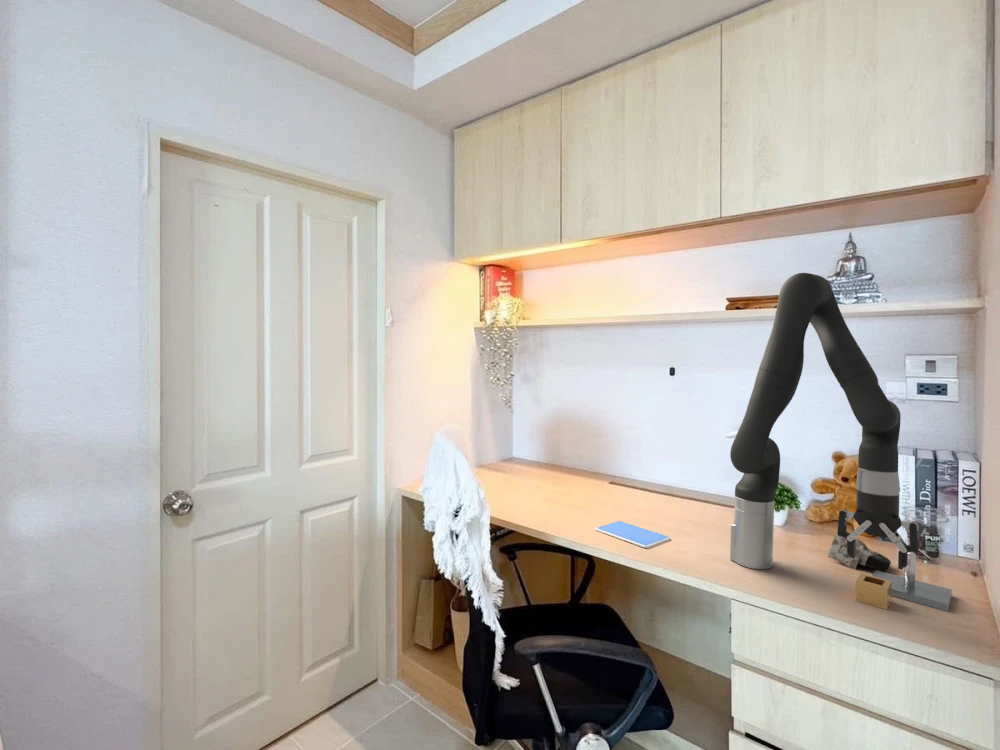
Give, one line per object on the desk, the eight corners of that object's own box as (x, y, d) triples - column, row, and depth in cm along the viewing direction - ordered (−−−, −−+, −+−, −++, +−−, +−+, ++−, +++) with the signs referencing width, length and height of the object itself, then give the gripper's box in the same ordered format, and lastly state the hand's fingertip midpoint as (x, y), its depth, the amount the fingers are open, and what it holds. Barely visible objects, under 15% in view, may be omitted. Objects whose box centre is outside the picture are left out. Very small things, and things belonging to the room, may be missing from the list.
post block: (867, 588, 116) (869, 548, 116) (875, 576, 123) (876, 538, 123) (947, 611, 106) (949, 567, 106) (951, 595, 113) (953, 554, 113)
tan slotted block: (855, 600, 110) (856, 580, 110) (860, 592, 114) (861, 572, 114) (886, 609, 106) (887, 589, 106) (891, 600, 110) (891, 581, 110)
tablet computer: (593, 531, 154) (593, 527, 154) (619, 523, 162) (619, 519, 161) (646, 551, 139) (646, 546, 139) (672, 541, 146) (672, 536, 146)
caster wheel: (889, 577, 128) (874, 581, 123) (842, 553, 137) (826, 556, 132) (899, 554, 127) (884, 556, 122) (851, 531, 136) (834, 533, 131)
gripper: (835, 486, 112) (834, 558, 112) (917, 499, 102) (916, 577, 102) (843, 481, 117) (842, 549, 117) (922, 492, 107) (920, 567, 107)
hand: (876, 562), depth 110 cm, fingers open, 8 cm apart
